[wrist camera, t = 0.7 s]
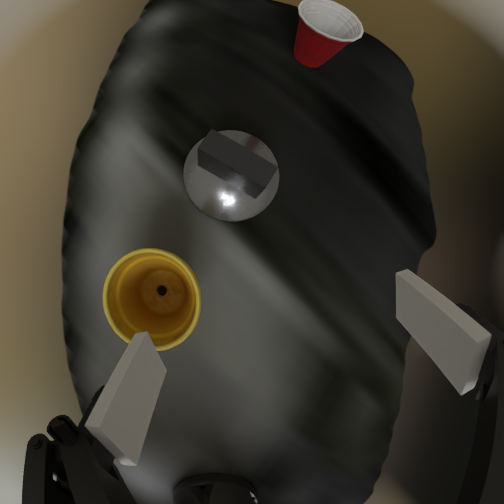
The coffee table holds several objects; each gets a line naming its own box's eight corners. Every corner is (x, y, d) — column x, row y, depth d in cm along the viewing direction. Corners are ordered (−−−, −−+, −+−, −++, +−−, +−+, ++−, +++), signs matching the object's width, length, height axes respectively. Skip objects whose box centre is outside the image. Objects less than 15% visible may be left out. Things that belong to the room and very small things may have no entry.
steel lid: (248, 240, 37) (259, 235, 30) (165, 191, 35) (158, 175, 28) (292, 163, 39) (310, 145, 32) (216, 119, 37) (220, 93, 30)
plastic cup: (267, 55, 39) (286, 9, 27) (296, 31, 40) (316, -10, 28) (319, 89, 40) (351, 48, 28) (342, 61, 41) (372, 25, 30)
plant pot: (111, 280, 33) (83, 286, 24) (172, 235, 35) (161, 226, 26) (156, 343, 34) (143, 369, 25) (217, 300, 36) (223, 314, 26)
